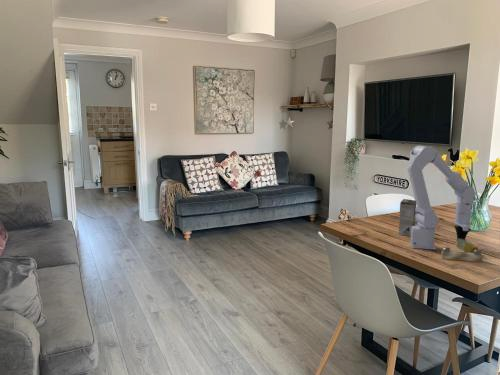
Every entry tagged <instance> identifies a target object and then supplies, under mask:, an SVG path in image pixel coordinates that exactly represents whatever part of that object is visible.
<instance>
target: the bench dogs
mask: <svg viewBox="0 0 500 375" xmlns="http://www.w3.org/2000/svg"><path fill="white" fill-rule="evenodd" d="M442 250H443V252H446V253H449V252H450V251H451V248H450V247H448V246H447V247H446V246H444V247H443V248H442ZM474 254H475V255H481V254H482V250H480V249H478V250H474Z"/></svg>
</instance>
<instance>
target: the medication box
mask: <svg viewBox="0 0 500 375" xmlns="http://www.w3.org/2000/svg"><path fill="white" fill-rule="evenodd" d="M456 245H457V248H458V249H460V250H461V251H462V252H467V253H474V250H479V247H478V246H476V245H475V244H473V243H471V242H470V241H468V240H467V239H466V238H465V239H464V238H459V239H458V240H457V244H456Z"/></svg>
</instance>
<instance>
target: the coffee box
mask: <svg viewBox="0 0 500 375" xmlns="http://www.w3.org/2000/svg"><path fill="white" fill-rule="evenodd" d="M416 207H417V204H416V200H414V199H413V200H412V199H406V198H405V199H404V198H402V200H401V201H400V204H399V218H398V219H399V220H398V221H399V222H398V235H399V236H407V237H411V229H412V226H416V219H415V214H416V210H415V209H416Z"/></svg>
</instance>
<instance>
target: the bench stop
mask: <svg viewBox="0 0 500 375" xmlns="http://www.w3.org/2000/svg"><path fill="white" fill-rule="evenodd" d="M441 258H442V259H444V260H445V259H446V260H458V261H466V262H467V261H469V262H480V263H482V262H483V255H482V253H481V255H475V254H474V253H467V252H464V251H452V250H450V252H449V253H446V252H443V249H442V250H441Z"/></svg>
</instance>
